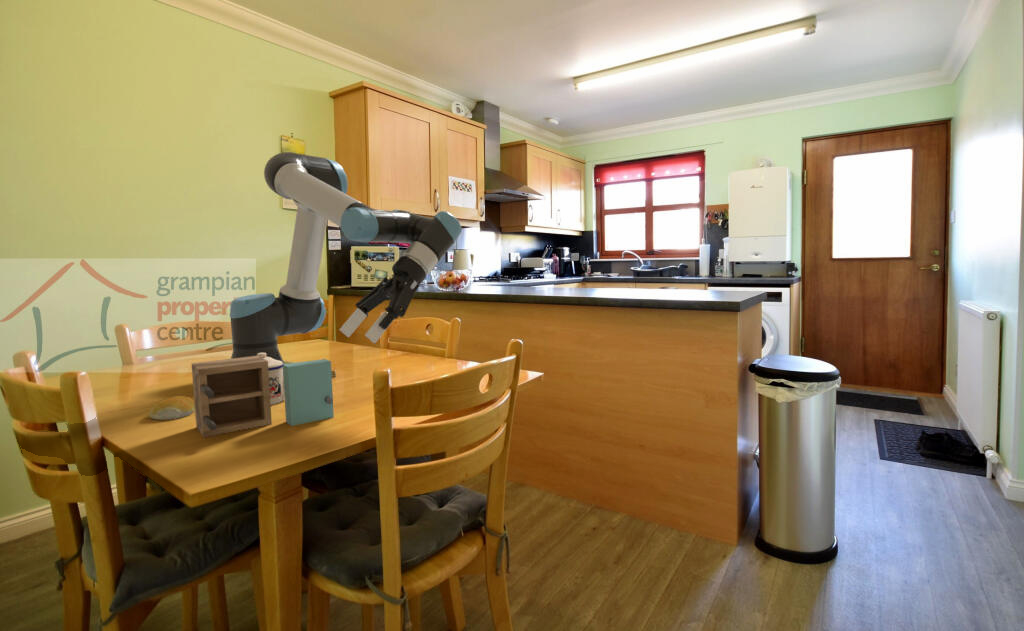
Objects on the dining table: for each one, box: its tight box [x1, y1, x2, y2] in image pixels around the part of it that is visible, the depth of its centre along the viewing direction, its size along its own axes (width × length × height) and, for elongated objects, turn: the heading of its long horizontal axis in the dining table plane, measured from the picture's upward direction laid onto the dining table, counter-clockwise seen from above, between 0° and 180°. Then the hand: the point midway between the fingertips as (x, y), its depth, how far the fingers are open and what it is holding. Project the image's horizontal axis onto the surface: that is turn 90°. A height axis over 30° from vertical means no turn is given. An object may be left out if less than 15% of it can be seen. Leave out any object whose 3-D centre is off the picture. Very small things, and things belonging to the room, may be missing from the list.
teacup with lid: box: [257, 353, 285, 406], centre depth 122 cm, size 12×9×12 cm
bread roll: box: [148, 395, 195, 421], centre depth 113 cm, size 8×9×4 cm
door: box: [283, 358, 335, 427], centre depth 107 cm, size 4×9×12 cm, turn 130°
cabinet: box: [191, 356, 273, 438], centre depth 101 cm, size 14×12×13 cm
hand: (356, 336), depth 113 cm, fingers open, 13 cm apart
